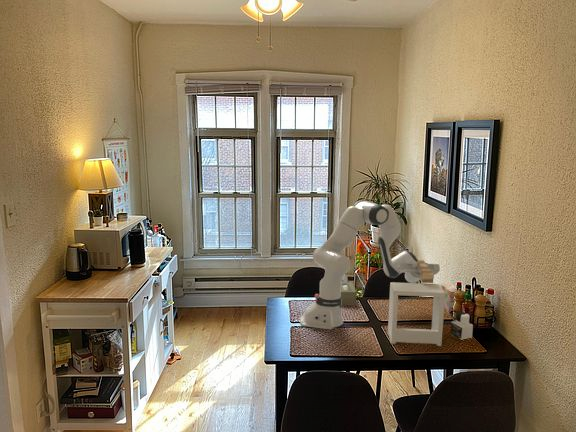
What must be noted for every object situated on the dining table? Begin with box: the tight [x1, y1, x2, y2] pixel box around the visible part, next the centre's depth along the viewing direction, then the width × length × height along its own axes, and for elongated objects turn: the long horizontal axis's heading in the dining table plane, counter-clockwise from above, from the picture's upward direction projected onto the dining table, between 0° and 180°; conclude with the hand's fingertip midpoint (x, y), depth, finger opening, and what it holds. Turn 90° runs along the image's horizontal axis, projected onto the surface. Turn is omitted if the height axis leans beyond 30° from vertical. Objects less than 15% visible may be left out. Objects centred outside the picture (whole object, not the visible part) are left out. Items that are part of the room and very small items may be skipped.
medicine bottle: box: [450, 311, 474, 341], centre depth 219 cm, size 7×7×12 cm
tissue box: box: [341, 273, 357, 306], centre depth 268 cm, size 19×10×16 cm, turn 179°
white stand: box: [387, 281, 445, 347], centre depth 215 cm, size 23×12×26 cm, turn 85°
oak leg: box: [417, 259, 435, 284], centre depth 225 cm, size 19×5×4 cm, turn 175°
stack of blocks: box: [438, 283, 458, 313], centre depth 260 cm, size 21×6×12 cm, turn 5°
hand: (422, 264), depth 230 cm, fingers closed on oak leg, 3 cm apart
